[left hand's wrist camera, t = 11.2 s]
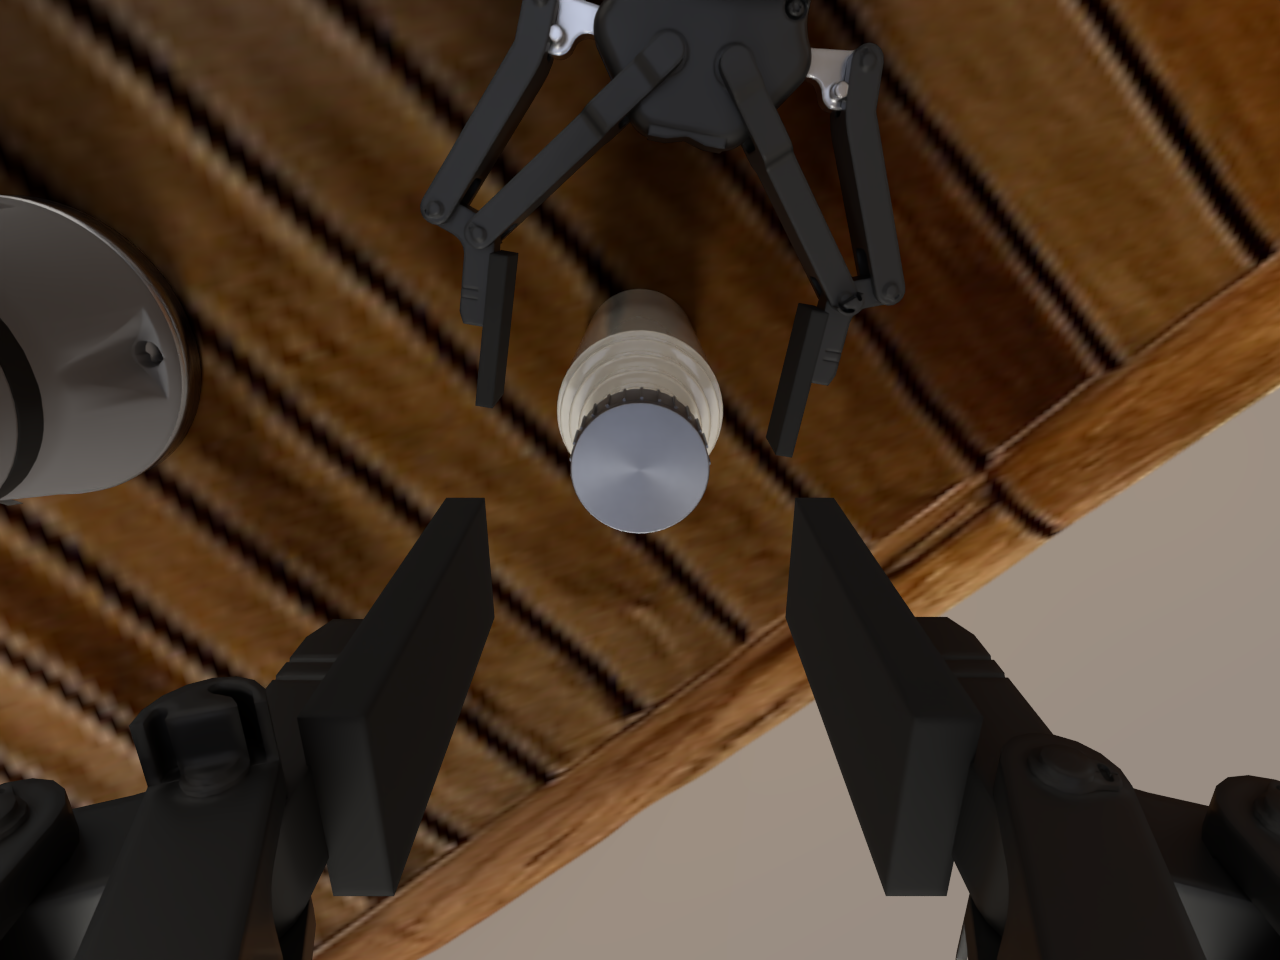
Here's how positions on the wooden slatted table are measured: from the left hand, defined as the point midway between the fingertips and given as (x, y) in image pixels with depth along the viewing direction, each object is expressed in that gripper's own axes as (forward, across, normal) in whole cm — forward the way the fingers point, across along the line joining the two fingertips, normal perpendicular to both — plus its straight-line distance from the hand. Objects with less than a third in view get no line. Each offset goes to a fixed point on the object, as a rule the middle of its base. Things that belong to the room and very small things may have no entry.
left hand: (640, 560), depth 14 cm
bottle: (+25, 0, 0) cm, 25 cm away
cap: (+6, 0, 0) cm, 6 cm away
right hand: (+19, 0, -3) cm, 19 cm away
